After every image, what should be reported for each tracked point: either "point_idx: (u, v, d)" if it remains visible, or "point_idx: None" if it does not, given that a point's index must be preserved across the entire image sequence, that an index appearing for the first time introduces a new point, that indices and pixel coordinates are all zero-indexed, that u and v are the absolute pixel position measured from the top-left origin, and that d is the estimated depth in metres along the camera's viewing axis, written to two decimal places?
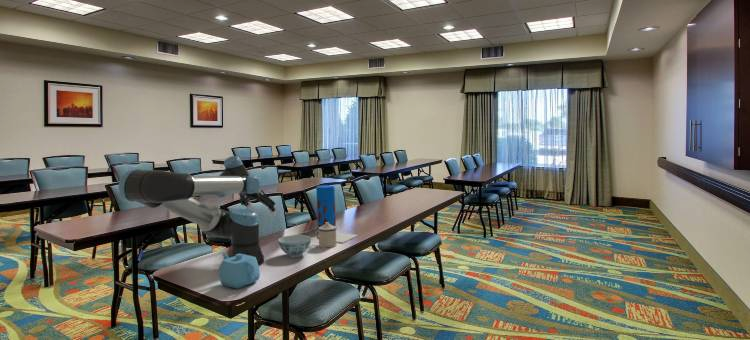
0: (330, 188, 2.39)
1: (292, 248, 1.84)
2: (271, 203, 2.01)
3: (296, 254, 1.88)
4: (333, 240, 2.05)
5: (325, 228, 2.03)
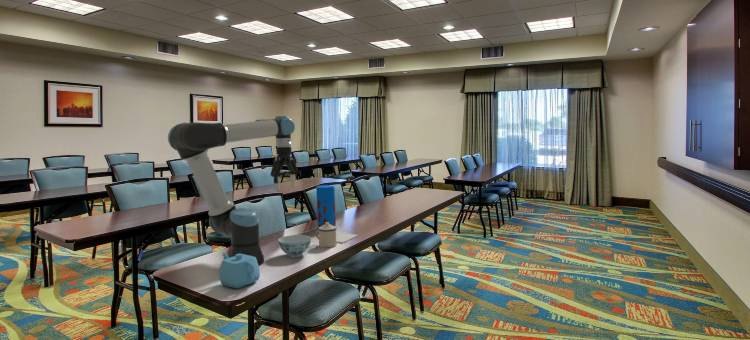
0: (330, 188, 2.39)
1: (292, 248, 1.84)
2: (272, 171, 2.02)
3: (296, 254, 1.88)
4: (333, 240, 2.05)
5: (325, 228, 2.03)
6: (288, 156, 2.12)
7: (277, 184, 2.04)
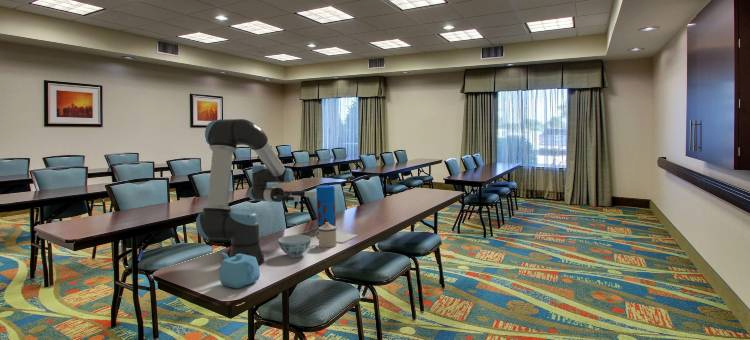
0: (330, 188, 2.39)
1: (292, 248, 1.84)
2: None
3: (296, 254, 1.88)
4: (333, 240, 2.05)
5: (325, 228, 2.03)
6: None
7: None
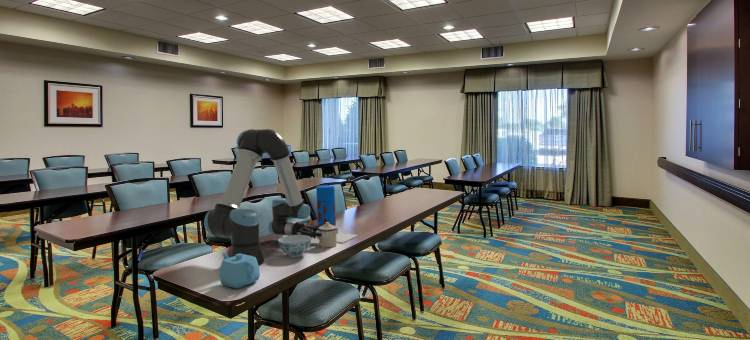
0: (330, 188, 2.39)
1: (292, 248, 1.84)
2: None
3: (296, 254, 1.88)
4: (334, 240, 2.05)
5: (325, 228, 2.03)
6: None
7: None
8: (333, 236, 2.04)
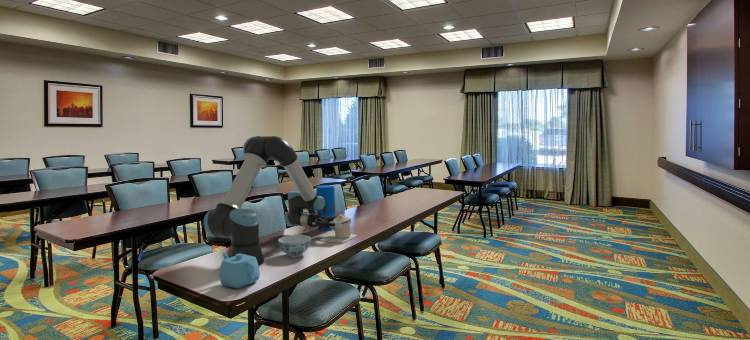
0: (330, 188, 2.39)
1: (292, 248, 1.84)
2: None
3: (296, 254, 1.88)
4: (348, 230, 2.19)
5: (339, 221, 2.16)
6: None
7: None
8: (347, 227, 2.18)
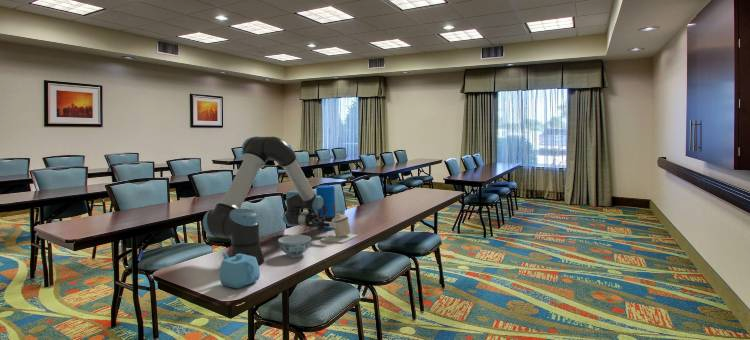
0: (330, 188, 2.39)
1: (292, 248, 1.84)
2: None
3: (296, 254, 1.88)
4: (348, 228, 2.20)
5: (337, 219, 2.19)
6: None
7: None
8: (346, 224, 2.20)
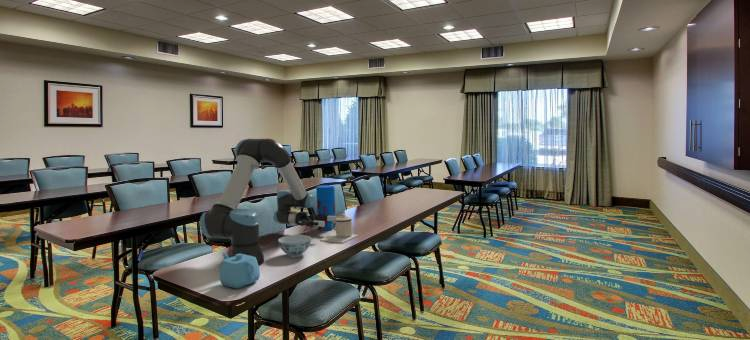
0: (330, 188, 2.39)
1: (292, 248, 1.84)
2: None
3: (296, 254, 1.88)
4: (350, 230, 2.21)
5: (342, 219, 2.20)
6: None
7: None
8: (349, 226, 2.21)
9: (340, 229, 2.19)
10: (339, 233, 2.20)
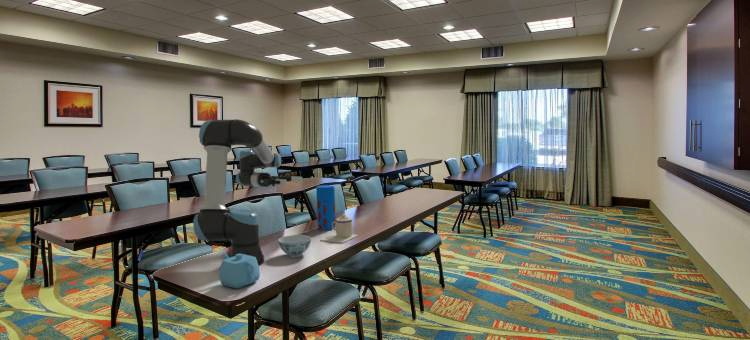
0: (330, 188, 2.39)
1: (292, 248, 1.84)
2: None
3: (296, 254, 1.88)
4: (350, 230, 2.21)
5: (342, 219, 2.19)
6: None
7: None
8: (349, 227, 2.21)
9: (340, 230, 2.19)
10: (339, 234, 2.20)
